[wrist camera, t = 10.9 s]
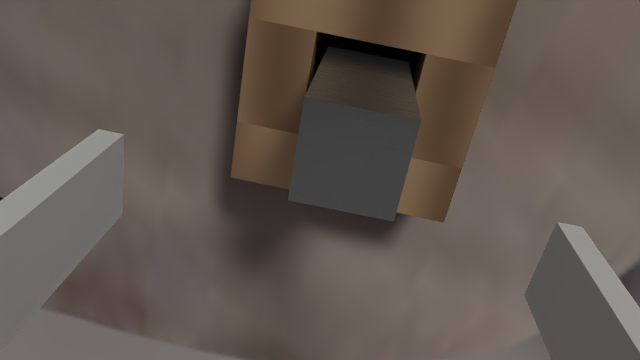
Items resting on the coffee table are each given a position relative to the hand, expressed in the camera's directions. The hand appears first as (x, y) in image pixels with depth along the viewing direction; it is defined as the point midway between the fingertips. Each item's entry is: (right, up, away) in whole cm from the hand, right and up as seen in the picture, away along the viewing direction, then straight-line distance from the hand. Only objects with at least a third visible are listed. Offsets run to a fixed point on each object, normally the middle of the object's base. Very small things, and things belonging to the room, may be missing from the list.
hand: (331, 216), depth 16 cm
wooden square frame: (+2, +8, +18) cm, 20 cm away
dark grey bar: (+2, +8, +18) cm, 20 cm away
